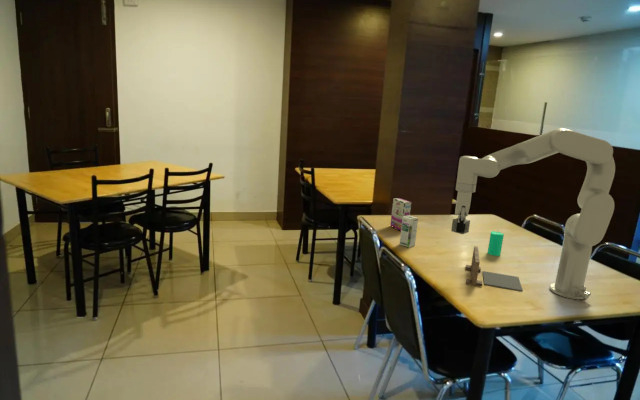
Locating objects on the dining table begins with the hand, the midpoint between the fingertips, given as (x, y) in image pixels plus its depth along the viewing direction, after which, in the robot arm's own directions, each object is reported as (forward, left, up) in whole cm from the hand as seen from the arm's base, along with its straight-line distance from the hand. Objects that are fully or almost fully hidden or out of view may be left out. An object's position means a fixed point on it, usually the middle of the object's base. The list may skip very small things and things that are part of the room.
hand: (460, 229), depth 174 cm
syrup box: (+36, +3, -19) cm, 41 cm away
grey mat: (-11, -15, -19) cm, 27 cm away
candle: (+19, -35, -19) cm, 44 cm away
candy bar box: (+62, -6, -19) cm, 65 cm away
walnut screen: (-4, -6, -19) cm, 21 cm away
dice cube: (0, 0, -1) cm, 1 cm away
